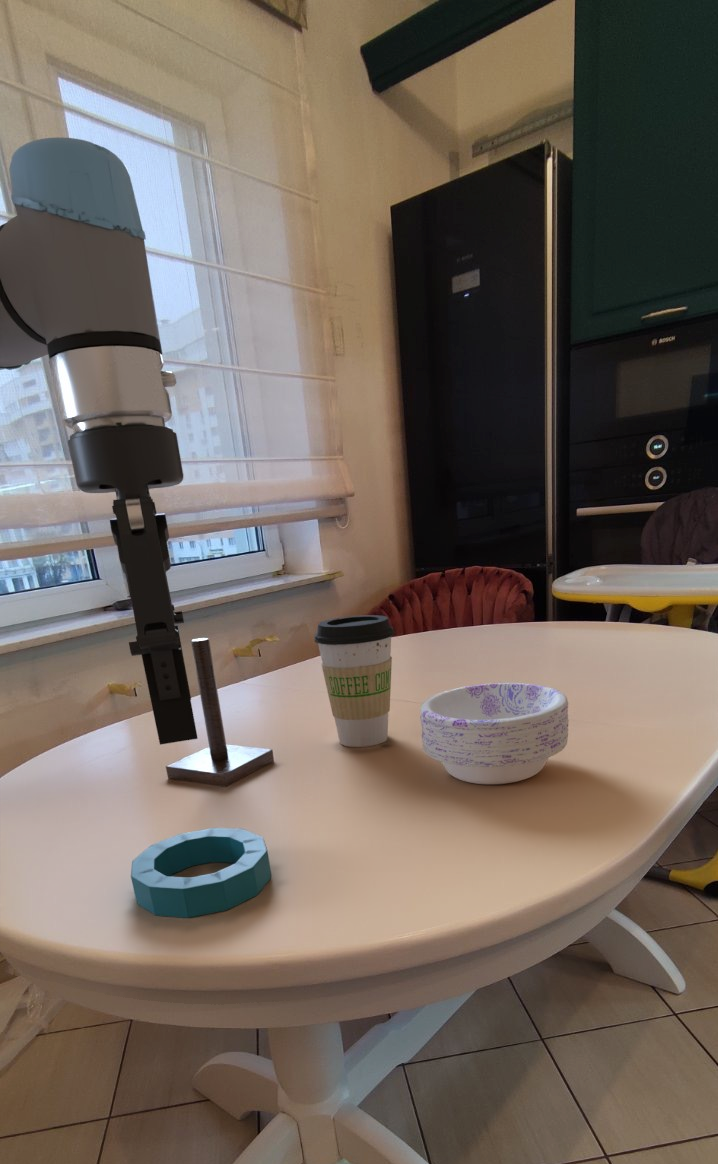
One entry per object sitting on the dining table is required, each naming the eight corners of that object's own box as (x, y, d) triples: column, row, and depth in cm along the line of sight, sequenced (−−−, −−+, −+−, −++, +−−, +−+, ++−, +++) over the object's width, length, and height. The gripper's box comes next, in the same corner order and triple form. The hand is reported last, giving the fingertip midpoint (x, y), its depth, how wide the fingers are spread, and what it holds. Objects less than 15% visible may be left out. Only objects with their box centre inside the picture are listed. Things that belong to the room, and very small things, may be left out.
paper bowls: (408, 793, 74) (402, 718, 71) (441, 747, 87) (438, 682, 84) (561, 800, 69) (562, 719, 66) (572, 749, 82) (573, 680, 79)
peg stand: (167, 778, 86) (141, 646, 80) (218, 754, 93) (197, 632, 87) (225, 786, 81) (202, 647, 75) (274, 760, 88) (256, 632, 82)
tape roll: (110, 912, 57) (103, 884, 56) (178, 850, 66) (173, 826, 65) (236, 921, 53) (231, 892, 53) (288, 856, 63) (285, 830, 62)
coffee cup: (358, 756, 87) (346, 630, 81) (310, 742, 94) (296, 625, 88) (417, 736, 92) (410, 616, 87) (368, 724, 99) (358, 612, 94)
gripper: (178, 394, 41) (237, 753, 48) (172, 444, 63) (213, 683, 71) (37, 403, 39) (121, 772, 47) (83, 451, 62) (135, 694, 70)
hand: (177, 719), depth 59 cm, fingers open, 13 cm apart
